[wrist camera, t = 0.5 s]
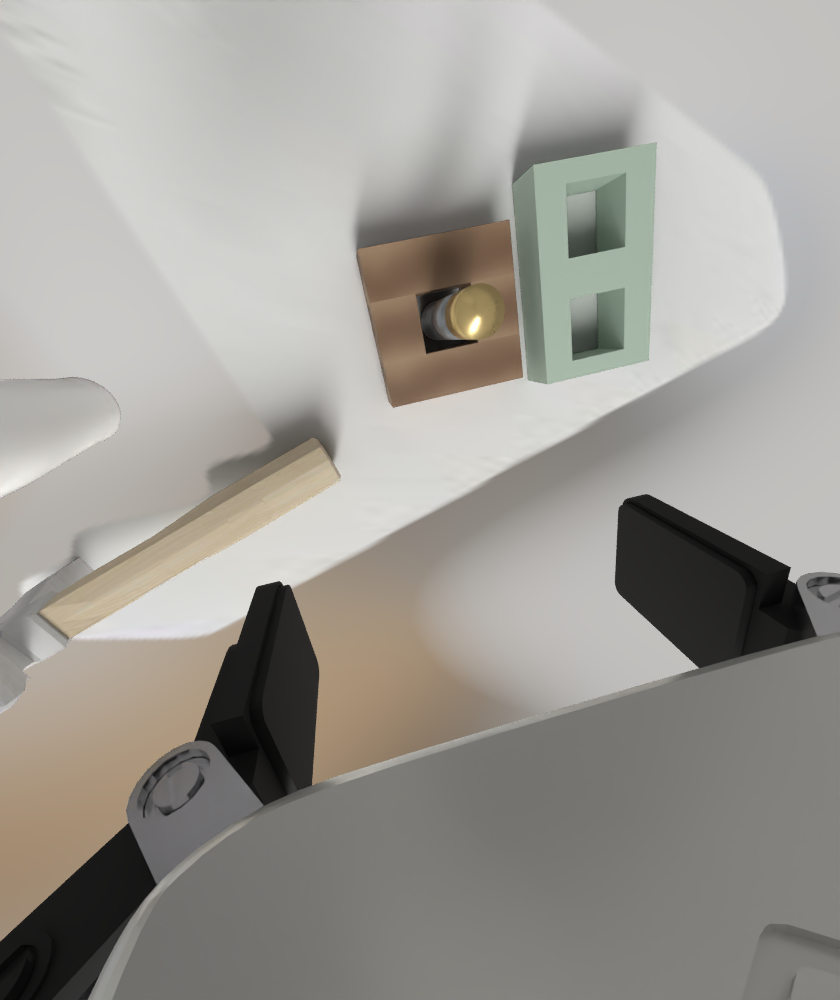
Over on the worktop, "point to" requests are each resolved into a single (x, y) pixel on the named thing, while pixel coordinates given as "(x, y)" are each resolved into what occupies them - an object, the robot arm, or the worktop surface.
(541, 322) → the frame
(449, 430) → the worktop surface
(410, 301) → the socket block
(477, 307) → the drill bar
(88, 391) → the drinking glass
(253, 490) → the hammer
